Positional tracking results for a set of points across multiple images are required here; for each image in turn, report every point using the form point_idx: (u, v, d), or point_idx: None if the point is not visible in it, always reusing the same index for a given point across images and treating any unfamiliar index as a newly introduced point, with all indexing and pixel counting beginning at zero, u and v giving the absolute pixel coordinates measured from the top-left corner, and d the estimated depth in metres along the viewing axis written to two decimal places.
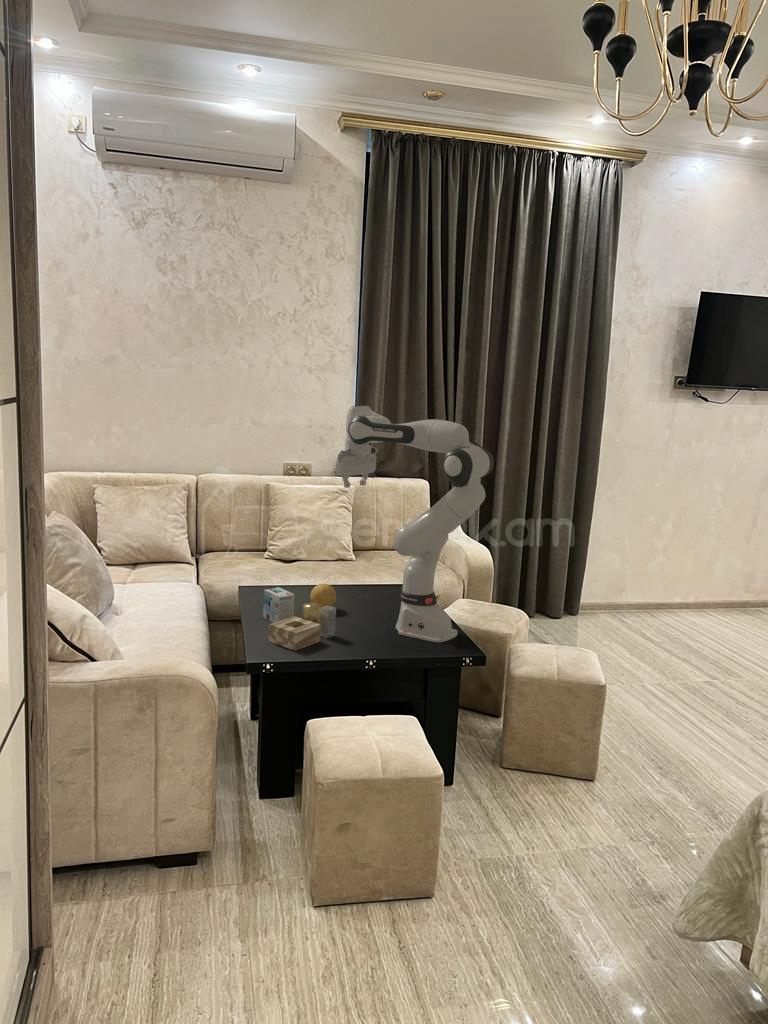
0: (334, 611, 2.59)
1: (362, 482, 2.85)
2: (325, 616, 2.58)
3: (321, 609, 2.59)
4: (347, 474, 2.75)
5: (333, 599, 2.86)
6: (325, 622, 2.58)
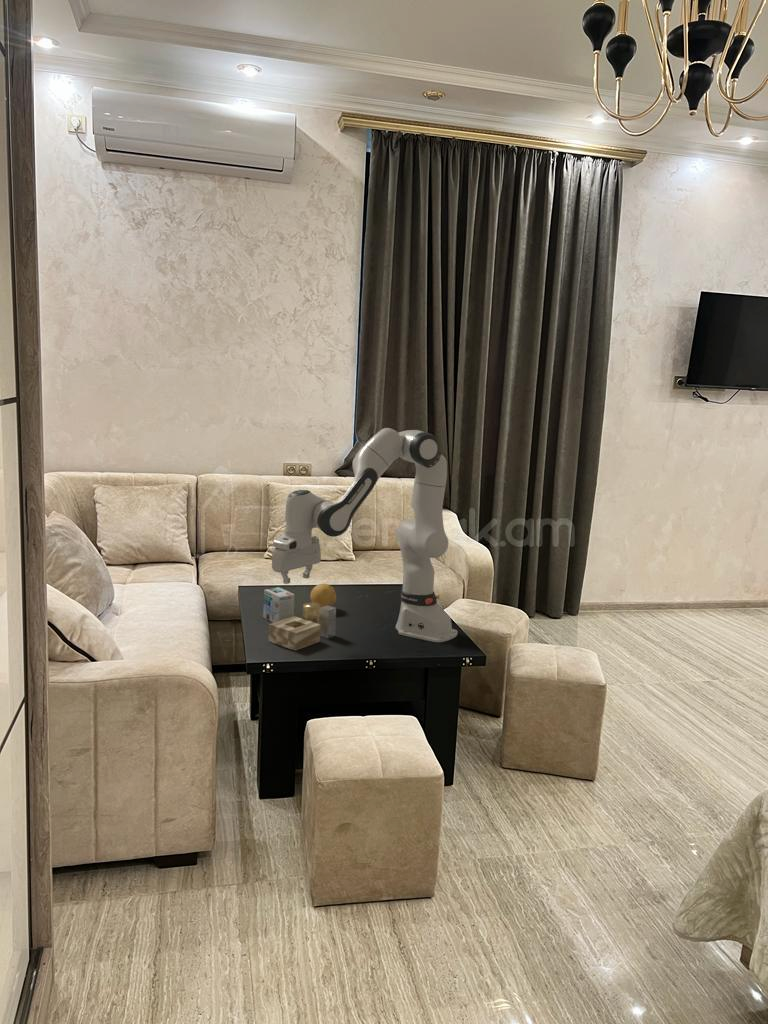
0: (334, 611, 2.59)
1: None
2: (325, 616, 2.58)
3: (321, 609, 2.59)
4: None
5: (333, 599, 2.86)
6: (325, 622, 2.58)
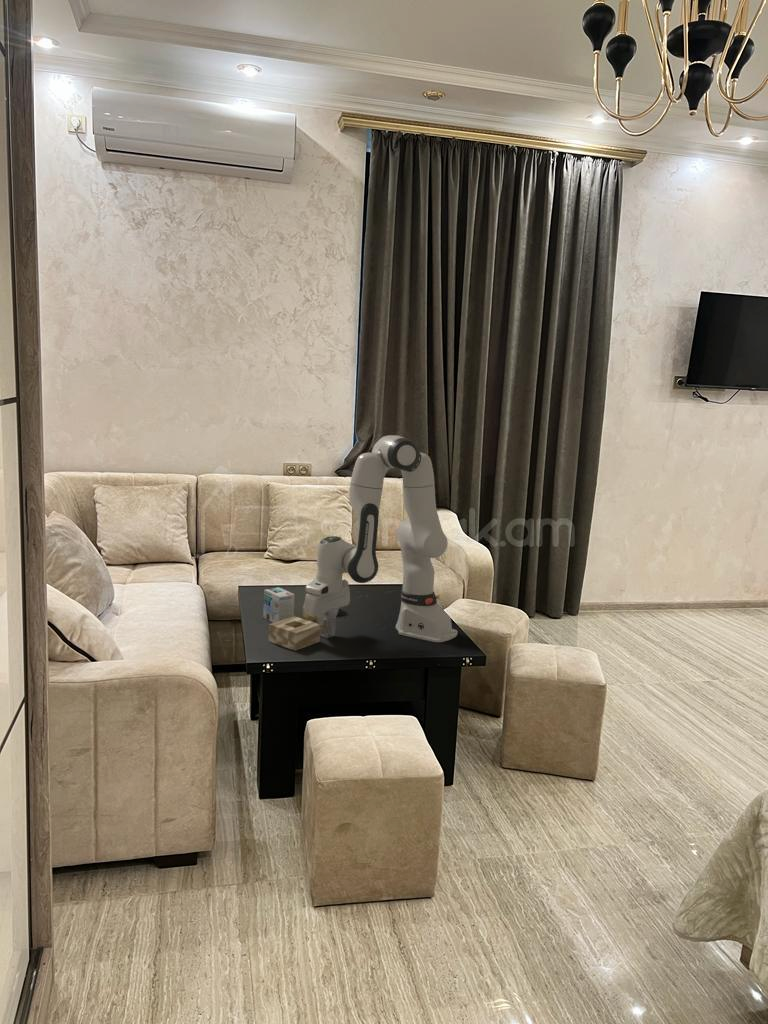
0: (334, 611, 2.59)
1: None
2: (325, 616, 2.58)
3: None
4: None
5: None
6: (325, 622, 2.58)
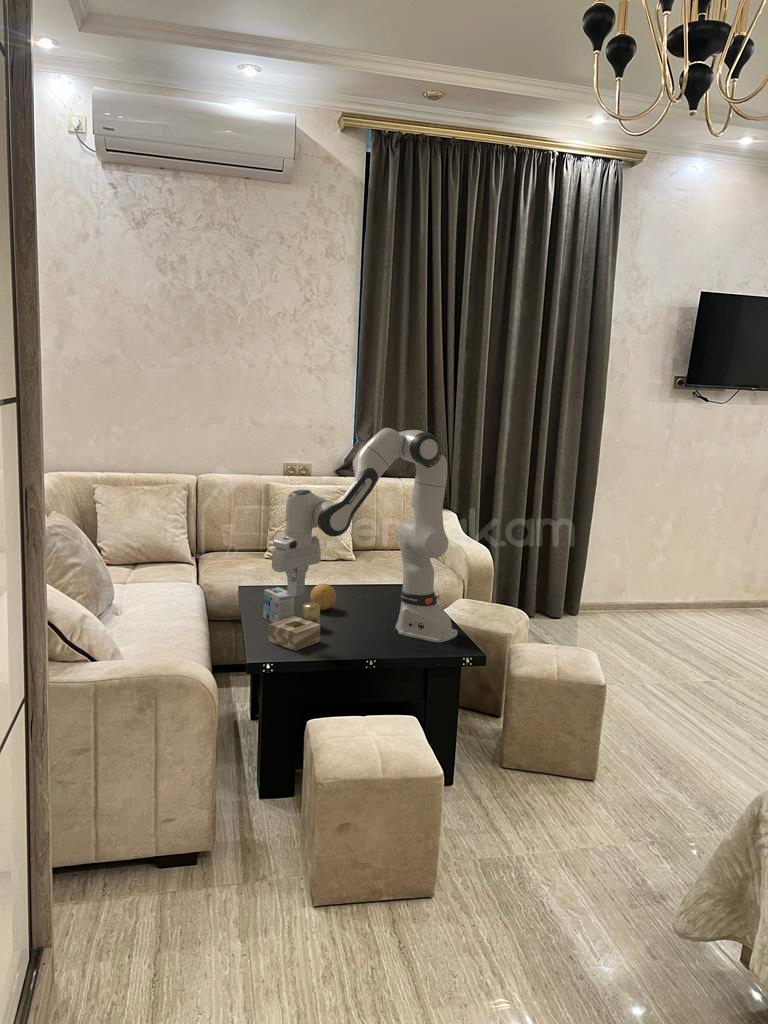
0: (303, 568, 2.49)
1: None
2: (293, 572, 2.48)
3: None
4: None
5: (333, 599, 2.86)
6: (294, 579, 2.48)
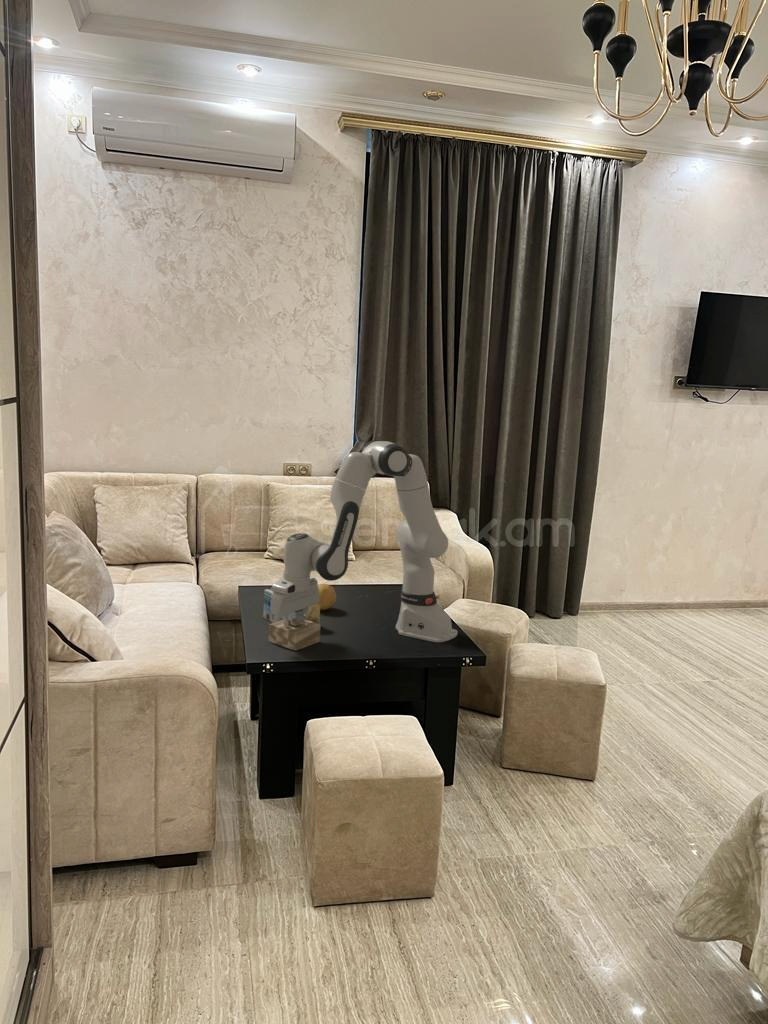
0: (302, 613, 2.52)
1: None
2: (292, 618, 2.50)
3: None
4: None
5: (333, 599, 2.86)
6: (293, 625, 2.51)
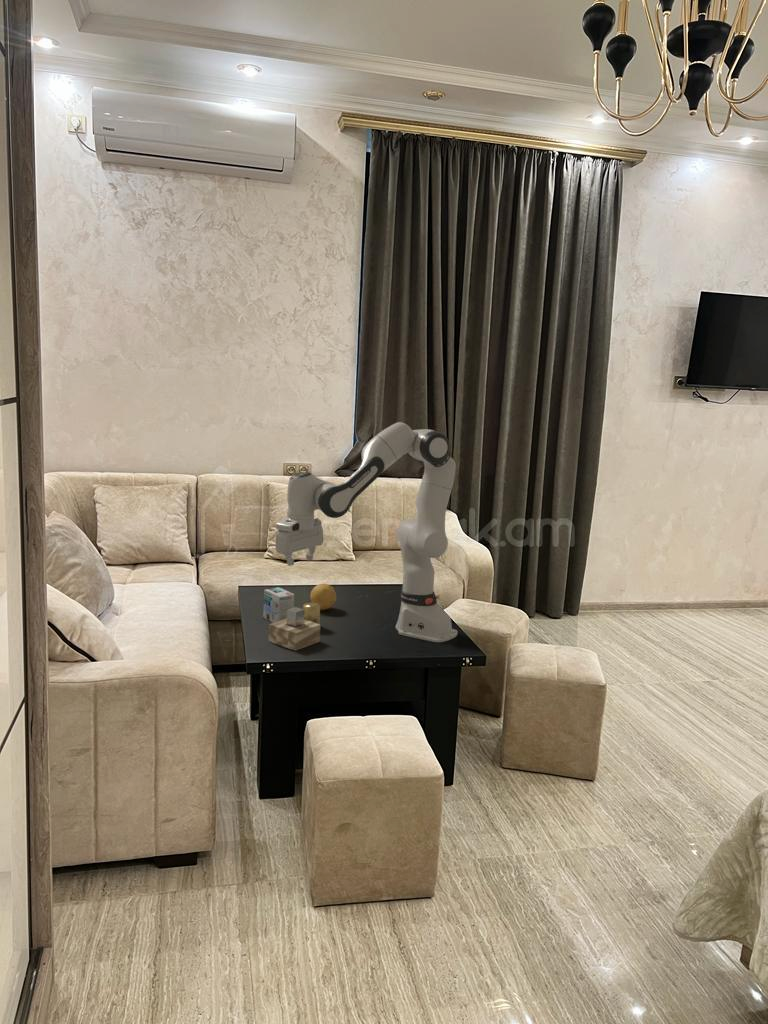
0: (302, 613, 2.52)
1: None
2: (292, 618, 2.50)
3: (288, 611, 2.51)
4: None
5: (333, 599, 2.86)
6: (293, 625, 2.51)
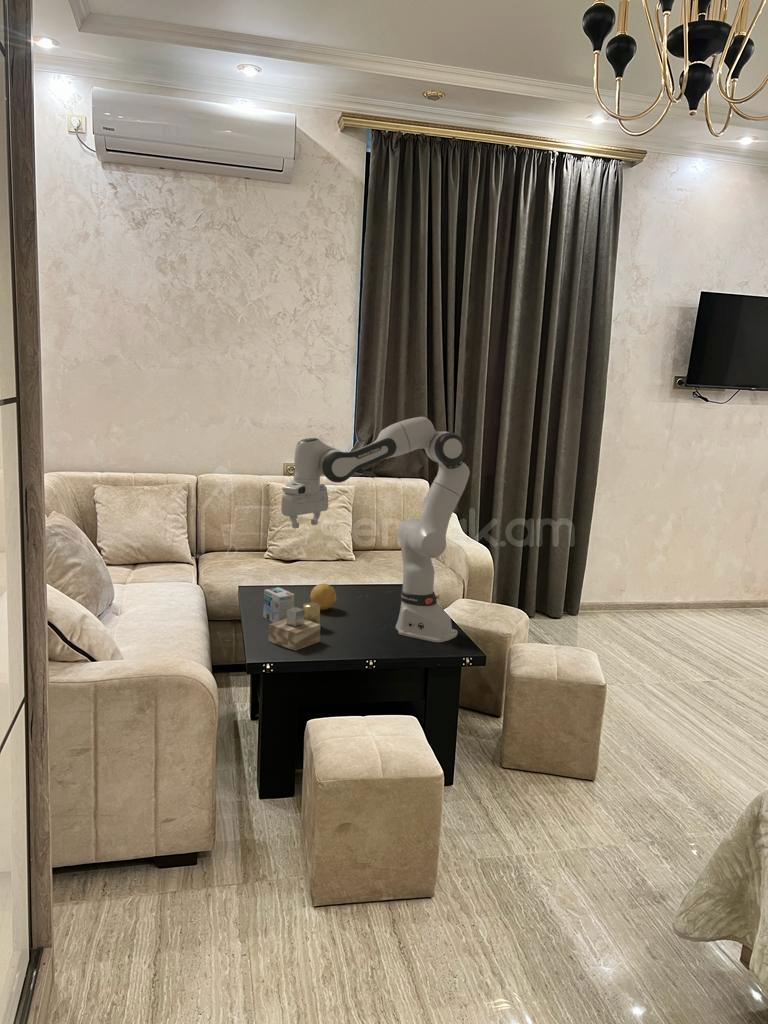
0: (302, 613, 2.52)
1: None
2: (292, 618, 2.50)
3: (288, 611, 2.51)
4: None
5: (333, 599, 2.86)
6: (293, 625, 2.51)
